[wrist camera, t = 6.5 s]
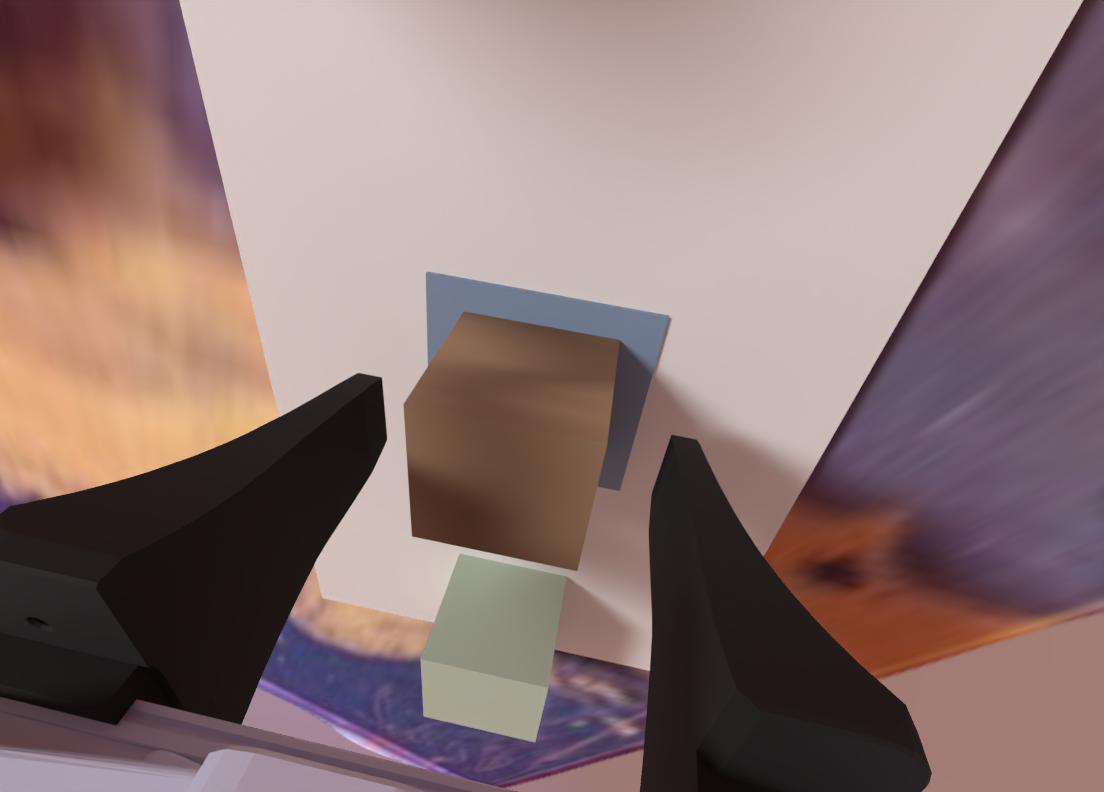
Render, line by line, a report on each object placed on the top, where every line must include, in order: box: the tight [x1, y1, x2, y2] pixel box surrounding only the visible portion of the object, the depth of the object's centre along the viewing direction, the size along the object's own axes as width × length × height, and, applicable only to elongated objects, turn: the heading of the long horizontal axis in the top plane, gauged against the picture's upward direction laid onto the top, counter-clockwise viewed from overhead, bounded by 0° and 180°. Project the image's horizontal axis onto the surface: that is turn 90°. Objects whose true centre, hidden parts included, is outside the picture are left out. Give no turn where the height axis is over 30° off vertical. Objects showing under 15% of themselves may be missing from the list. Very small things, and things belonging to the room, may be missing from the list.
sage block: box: [421, 553, 566, 742], centre depth 19 cm, size 4×4×4 cm
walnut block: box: [403, 312, 620, 571], centre depth 13 cm, size 4×4×4 cm
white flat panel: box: [179, 0, 1083, 671], centre depth 15 cm, size 16×26×1 cm, turn 173°
